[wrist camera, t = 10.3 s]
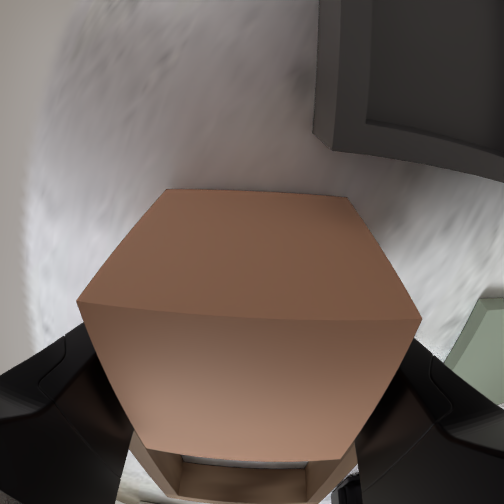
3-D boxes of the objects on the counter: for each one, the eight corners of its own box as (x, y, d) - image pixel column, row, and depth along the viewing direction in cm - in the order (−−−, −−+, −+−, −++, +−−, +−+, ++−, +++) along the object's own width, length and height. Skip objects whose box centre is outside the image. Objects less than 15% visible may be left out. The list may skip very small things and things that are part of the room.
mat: (568, 292, 10) (575, 300, 9) (503, 393, 14) (507, 401, 14) (478, 298, 10) (487, 310, 9) (406, 416, 15) (409, 427, 14)
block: (346, 197, 8) (422, 319, 4) (320, 331, 11) (340, 459, 6) (166, 189, 8) (76, 300, 4) (181, 324, 11) (145, 448, 6)
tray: (527, -18, 3) (569, -22, 1) (522, 176, 7) (566, 203, 5) (317, -105, 4) (330, -147, 1) (312, 133, 8) (331, 150, 5)
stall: (376, 363, 12) (392, 420, 9) (314, 472, 19) (316, 505, 16) (122, 350, 12) (99, 404, 9) (173, 465, 19) (167, 496, 17)
